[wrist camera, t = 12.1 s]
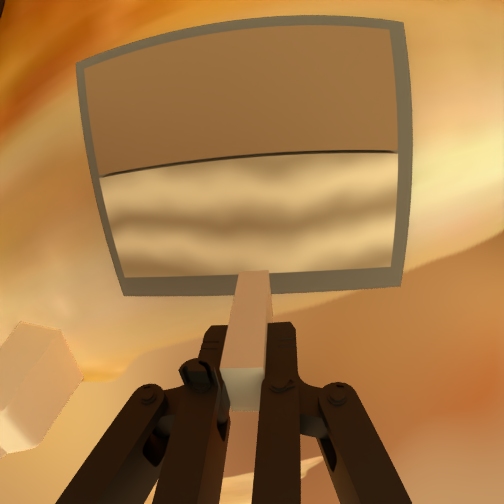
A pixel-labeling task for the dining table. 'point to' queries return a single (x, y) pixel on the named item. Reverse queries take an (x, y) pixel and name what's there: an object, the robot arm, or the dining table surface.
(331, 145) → the floor frame
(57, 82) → the dining table surface
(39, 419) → the milk
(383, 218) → the plank
